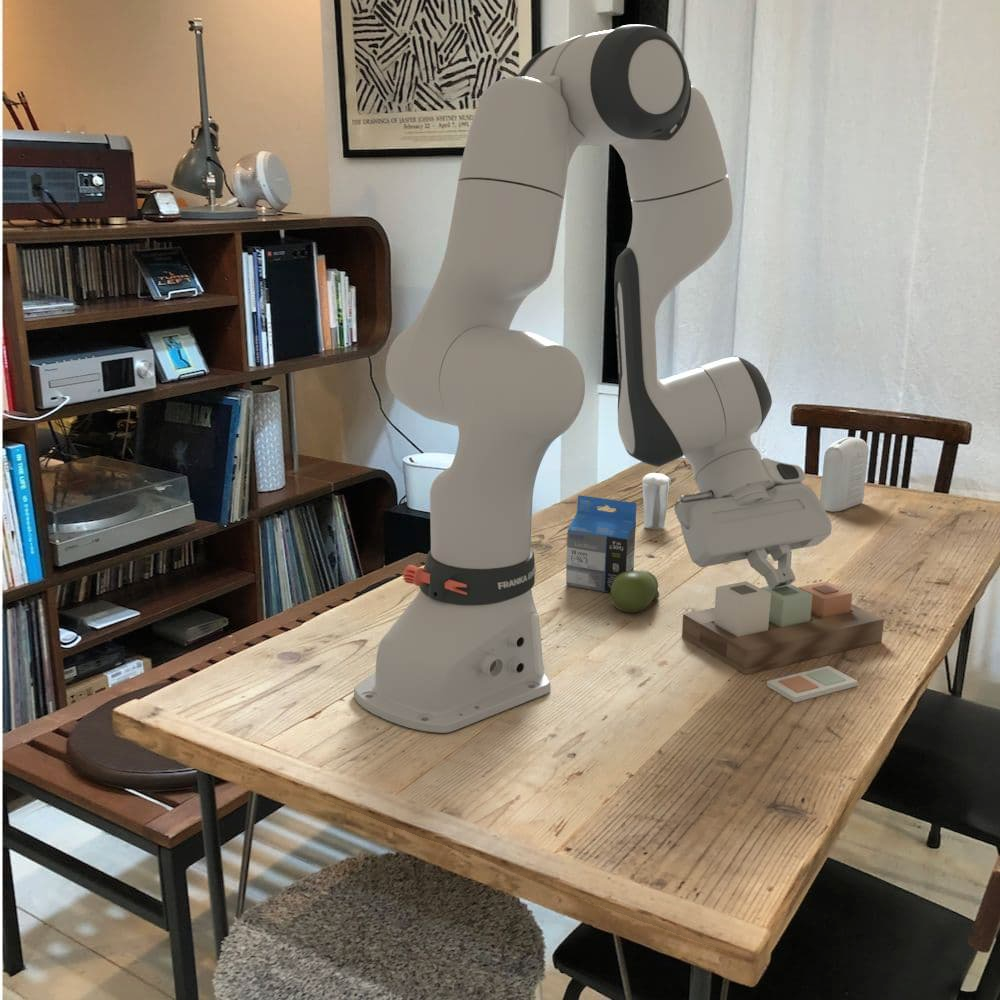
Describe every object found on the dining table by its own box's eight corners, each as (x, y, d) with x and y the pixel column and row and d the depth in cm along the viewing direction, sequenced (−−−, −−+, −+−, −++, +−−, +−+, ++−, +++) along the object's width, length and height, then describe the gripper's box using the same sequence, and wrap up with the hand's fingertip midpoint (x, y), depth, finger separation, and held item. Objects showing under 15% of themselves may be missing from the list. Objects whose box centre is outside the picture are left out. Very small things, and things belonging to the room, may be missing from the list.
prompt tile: (794, 702, 110) (794, 696, 110) (766, 686, 114) (767, 680, 113) (856, 685, 114) (857, 679, 114) (828, 670, 118) (828, 664, 117)
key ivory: (737, 637, 120) (740, 598, 118) (713, 623, 123) (716, 586, 122) (768, 630, 122) (771, 592, 120) (743, 617, 125) (746, 580, 124)
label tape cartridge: (564, 586, 143) (566, 501, 140) (574, 577, 147) (576, 494, 143) (625, 596, 140) (628, 509, 136) (634, 587, 143) (637, 502, 140)
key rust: (821, 634, 126) (824, 597, 124) (795, 621, 130) (798, 586, 128) (848, 628, 128) (852, 592, 126) (822, 615, 132) (826, 580, 130)
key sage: (780, 637, 123) (783, 599, 121) (755, 624, 127) (758, 587, 125) (809, 630, 125) (812, 593, 123) (783, 617, 129) (786, 581, 127)
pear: (605, 572, 133) (630, 561, 142) (602, 612, 133) (627, 599, 142) (647, 578, 131) (669, 567, 140) (643, 619, 131) (665, 605, 140)
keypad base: (745, 674, 116) (747, 650, 116) (681, 636, 127) (683, 613, 126) (881, 641, 125) (884, 618, 125) (812, 608, 136) (814, 587, 135)
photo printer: (844, 498, 187) (850, 431, 184) (866, 503, 184) (873, 435, 181) (815, 509, 180) (821, 440, 177) (838, 514, 177) (844, 444, 174)
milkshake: (664, 534, 166) (667, 474, 164) (635, 528, 169) (637, 469, 167) (677, 527, 170) (680, 468, 167) (648, 521, 173) (651, 464, 170)
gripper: (681, 484, 123) (728, 587, 118) (811, 465, 132) (860, 560, 127) (658, 510, 128) (701, 609, 123) (784, 489, 137) (830, 582, 132)
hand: (783, 584), depth 125 cm, fingers closed, pressing on key sage
